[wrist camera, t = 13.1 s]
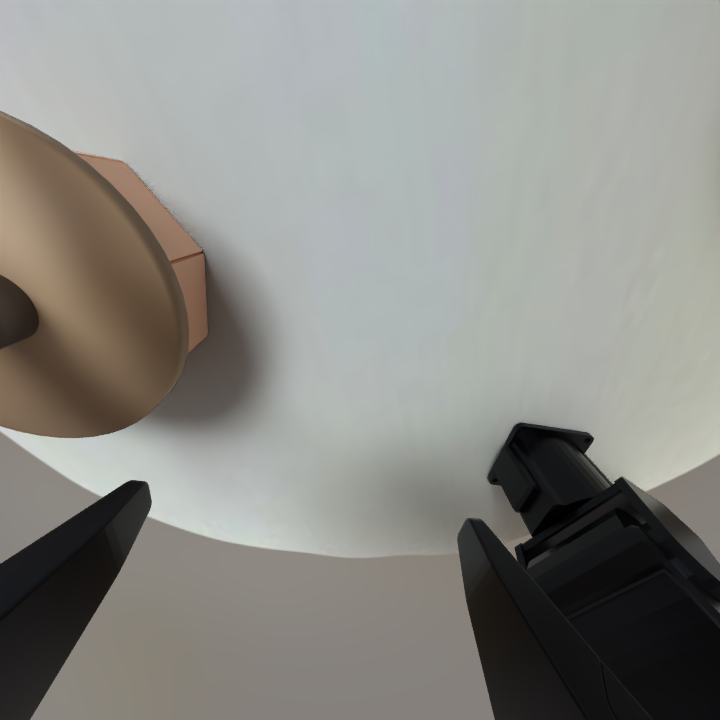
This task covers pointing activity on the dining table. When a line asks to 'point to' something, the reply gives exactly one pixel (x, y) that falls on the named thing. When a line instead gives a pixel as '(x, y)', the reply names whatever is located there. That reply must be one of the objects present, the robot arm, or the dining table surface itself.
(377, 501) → the dining table surface
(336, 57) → the dining table surface
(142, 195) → the terracotta bowl
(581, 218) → the dining table surface
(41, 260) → the walnut lid
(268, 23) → the dining table surface
